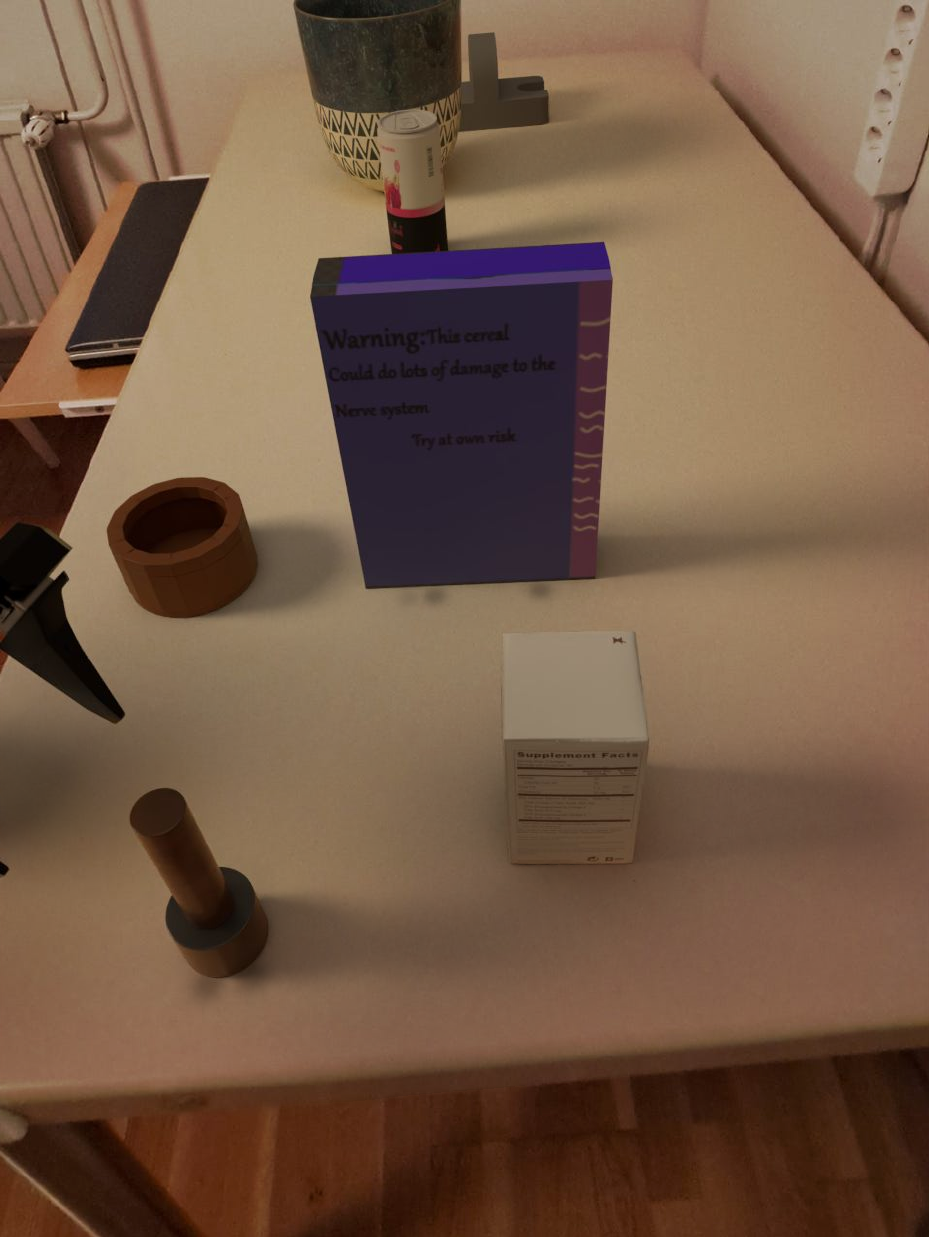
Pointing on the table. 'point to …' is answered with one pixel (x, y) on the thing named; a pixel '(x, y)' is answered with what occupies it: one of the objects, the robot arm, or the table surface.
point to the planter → (380, 72)
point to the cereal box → (469, 409)
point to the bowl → (183, 546)
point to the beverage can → (413, 181)
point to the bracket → (499, 92)
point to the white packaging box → (573, 745)
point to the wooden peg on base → (199, 889)
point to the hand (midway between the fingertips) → (66, 791)
